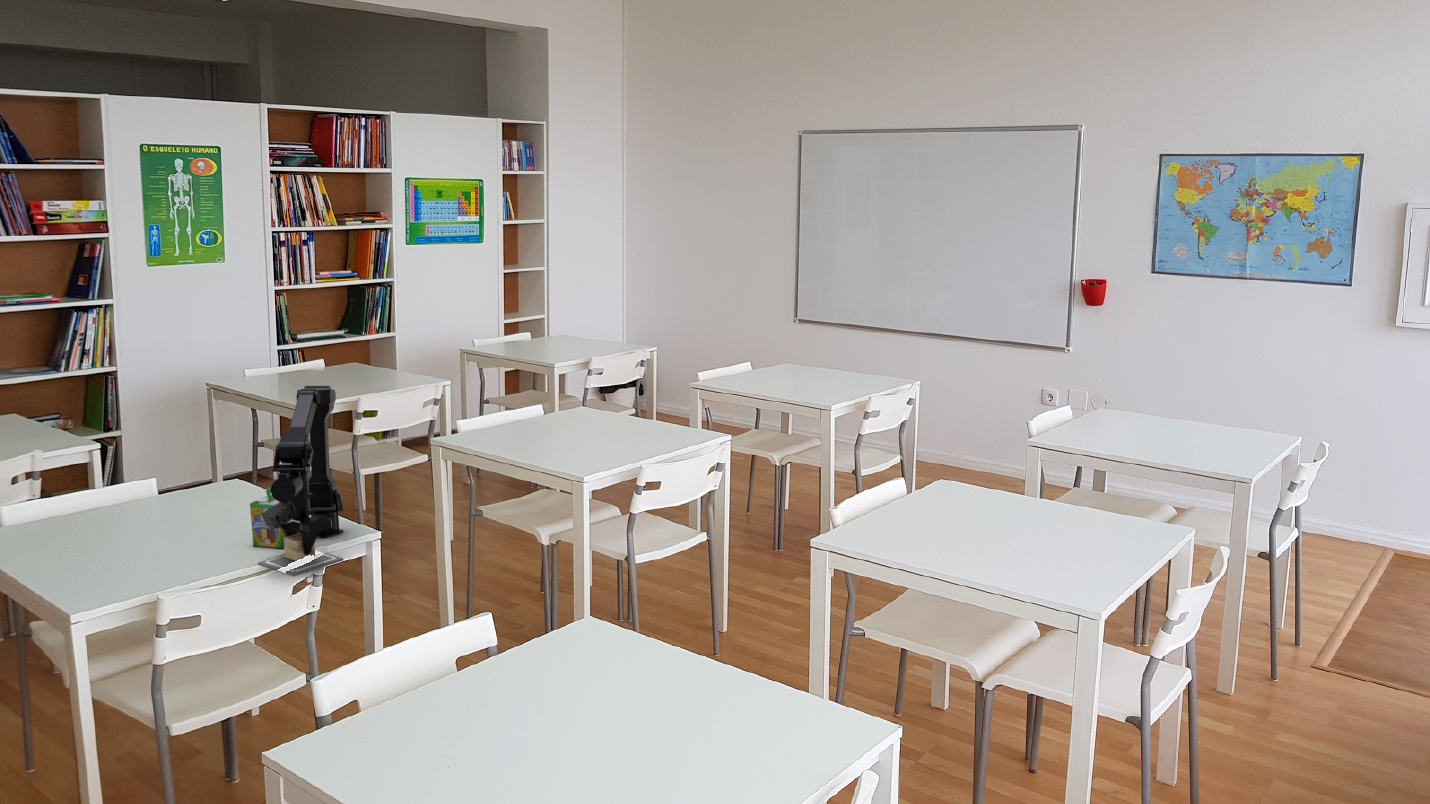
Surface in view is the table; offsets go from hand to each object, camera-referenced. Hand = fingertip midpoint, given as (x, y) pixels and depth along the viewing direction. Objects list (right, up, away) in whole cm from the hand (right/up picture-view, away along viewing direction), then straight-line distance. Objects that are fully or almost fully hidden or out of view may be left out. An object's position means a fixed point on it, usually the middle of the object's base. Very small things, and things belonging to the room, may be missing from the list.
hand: (300, 552), depth 270 cm
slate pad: (0, -3, 0) cm, 3 cm away
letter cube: (0, -1, 0) cm, 1 cm away
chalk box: (-11, 0, +15) cm, 19 cm away
